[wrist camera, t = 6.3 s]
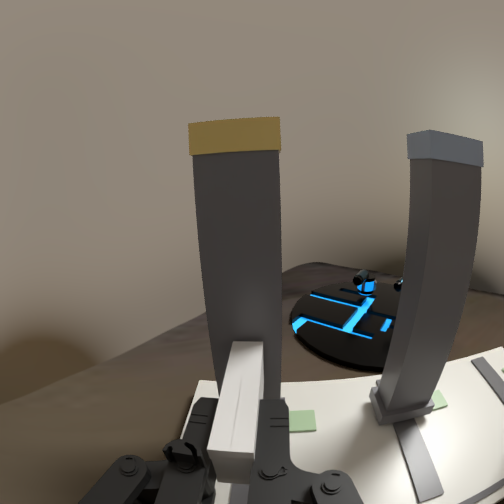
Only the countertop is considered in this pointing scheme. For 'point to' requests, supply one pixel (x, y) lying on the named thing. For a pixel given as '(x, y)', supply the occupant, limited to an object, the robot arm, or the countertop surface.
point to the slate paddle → (431, 271)
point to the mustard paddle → (240, 237)
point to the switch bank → (398, 437)
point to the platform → (349, 321)
